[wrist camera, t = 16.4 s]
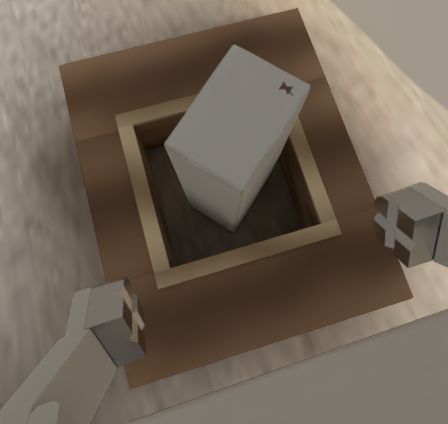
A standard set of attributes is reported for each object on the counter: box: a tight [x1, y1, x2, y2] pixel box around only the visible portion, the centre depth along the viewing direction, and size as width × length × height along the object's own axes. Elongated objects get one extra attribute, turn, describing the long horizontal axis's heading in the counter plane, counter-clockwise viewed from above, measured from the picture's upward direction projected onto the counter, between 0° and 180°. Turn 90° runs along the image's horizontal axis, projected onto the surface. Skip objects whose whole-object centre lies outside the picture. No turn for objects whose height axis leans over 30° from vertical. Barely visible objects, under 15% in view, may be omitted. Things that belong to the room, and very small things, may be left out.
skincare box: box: [164, 45, 311, 232], centre depth 20 cm, size 6×4×12 cm
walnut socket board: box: [59, 8, 413, 389], centre depth 24 cm, size 22×18×4 cm
